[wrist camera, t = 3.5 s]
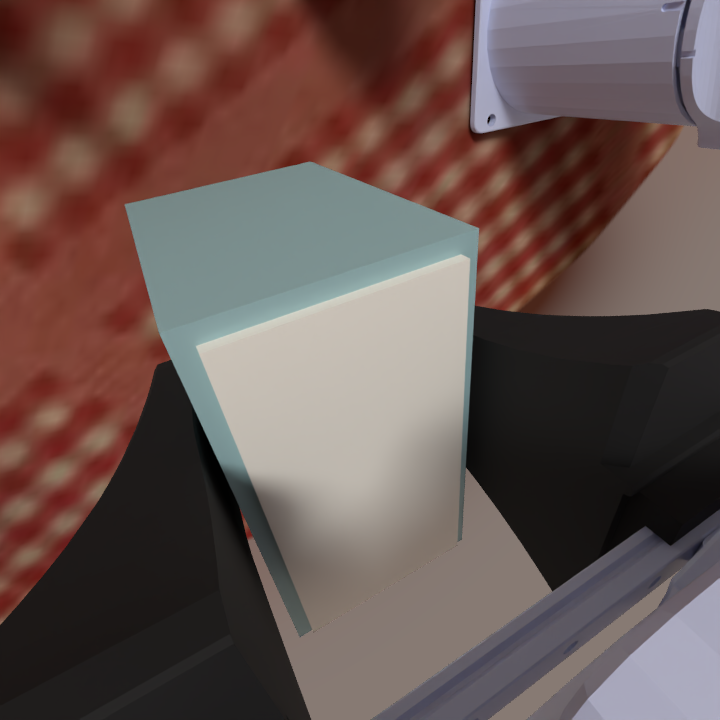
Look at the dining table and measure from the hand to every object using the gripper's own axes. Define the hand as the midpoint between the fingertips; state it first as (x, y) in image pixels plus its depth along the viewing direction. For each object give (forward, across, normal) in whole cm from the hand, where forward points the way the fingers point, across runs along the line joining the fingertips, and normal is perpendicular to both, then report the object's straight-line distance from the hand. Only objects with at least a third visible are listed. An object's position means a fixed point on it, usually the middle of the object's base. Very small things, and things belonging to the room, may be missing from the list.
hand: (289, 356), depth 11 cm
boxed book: (+2, 0, 0) cm, 2 cm away
